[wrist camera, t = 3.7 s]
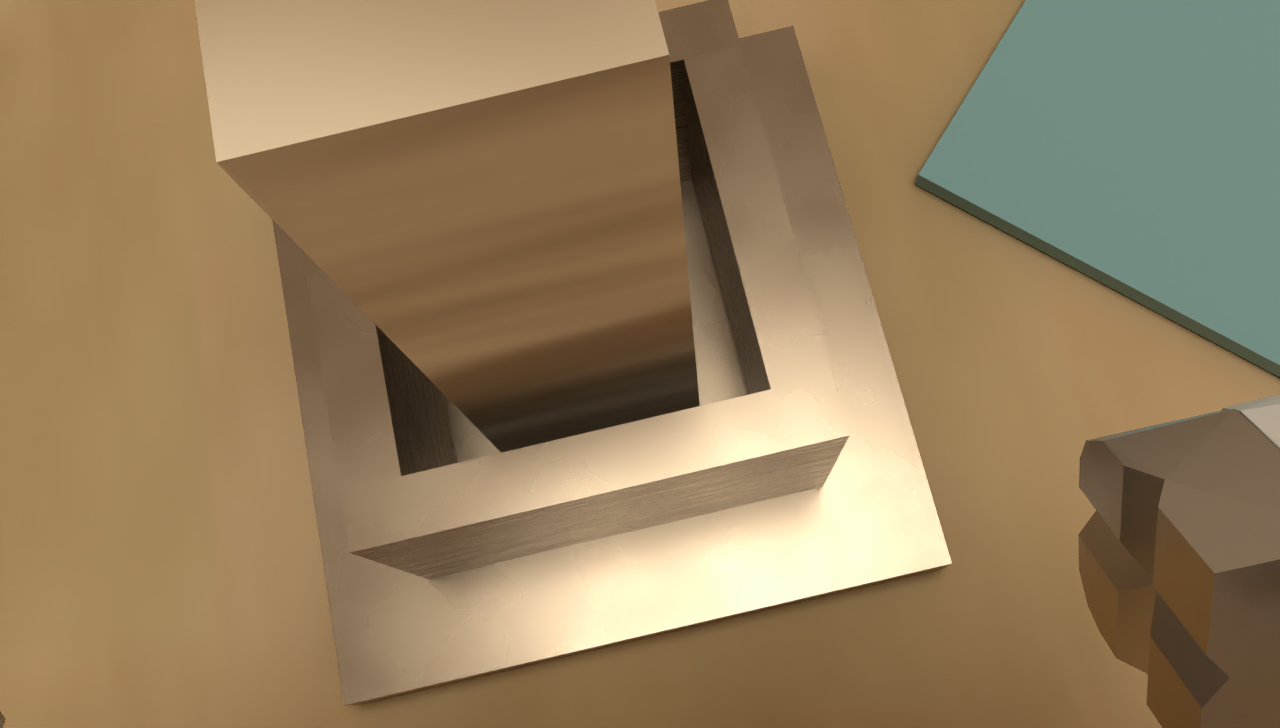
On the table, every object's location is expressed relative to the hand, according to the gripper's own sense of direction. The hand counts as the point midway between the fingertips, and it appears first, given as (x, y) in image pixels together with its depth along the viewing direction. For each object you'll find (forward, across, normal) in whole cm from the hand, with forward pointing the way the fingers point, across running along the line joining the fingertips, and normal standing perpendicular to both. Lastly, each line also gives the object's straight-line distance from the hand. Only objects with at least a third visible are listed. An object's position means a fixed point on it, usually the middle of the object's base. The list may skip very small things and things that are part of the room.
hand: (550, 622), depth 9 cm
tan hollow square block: (+15, 0, +6) cm, 16 cm away
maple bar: (+14, 0, +6) cm, 16 cm away
